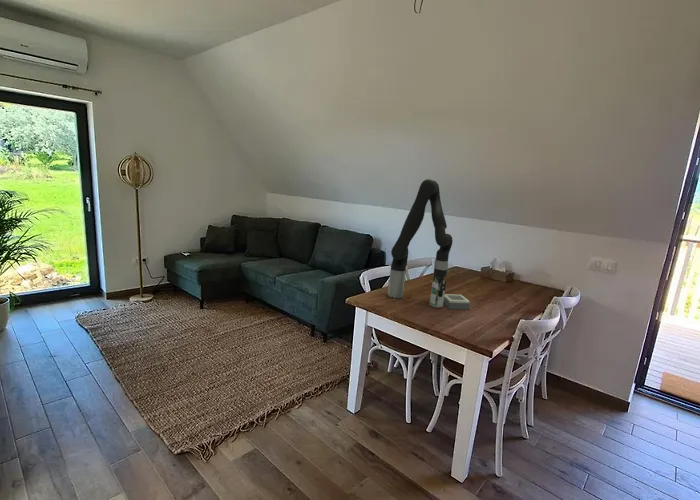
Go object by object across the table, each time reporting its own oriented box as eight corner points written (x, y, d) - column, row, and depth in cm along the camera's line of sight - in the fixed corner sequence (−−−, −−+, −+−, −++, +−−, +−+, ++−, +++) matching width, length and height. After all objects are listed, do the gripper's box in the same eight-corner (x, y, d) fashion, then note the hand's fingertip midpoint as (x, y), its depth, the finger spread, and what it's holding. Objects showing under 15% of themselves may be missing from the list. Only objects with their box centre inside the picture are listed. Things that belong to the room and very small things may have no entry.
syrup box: (429, 304, 222) (431, 281, 219) (436, 303, 224) (439, 280, 222) (435, 308, 217) (438, 284, 214) (443, 307, 220) (446, 283, 217)
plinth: (449, 309, 217) (450, 300, 216) (441, 302, 228) (442, 294, 227) (468, 309, 218) (469, 301, 217) (460, 302, 230) (461, 294, 229)
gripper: (430, 264, 223) (427, 290, 226) (439, 270, 209) (435, 298, 212) (442, 265, 224) (439, 290, 227) (451, 271, 210) (448, 298, 213)
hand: (437, 294), depth 219 cm, fingers open, 8 cm apart
